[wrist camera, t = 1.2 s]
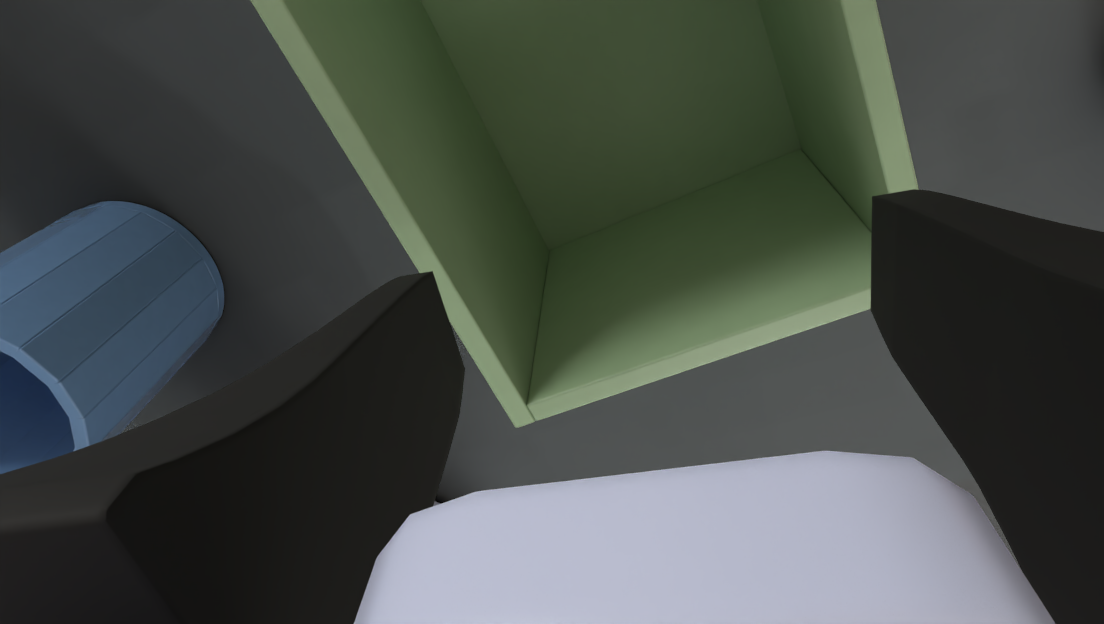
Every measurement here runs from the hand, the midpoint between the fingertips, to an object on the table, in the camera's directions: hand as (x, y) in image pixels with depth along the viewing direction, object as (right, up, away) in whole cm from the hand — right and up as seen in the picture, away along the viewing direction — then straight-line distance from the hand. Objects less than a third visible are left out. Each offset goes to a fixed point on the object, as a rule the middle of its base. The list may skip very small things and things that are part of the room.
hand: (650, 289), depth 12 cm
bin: (0, +7, +8) cm, 11 cm away
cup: (-16, +1, +12) cm, 20 cm away
